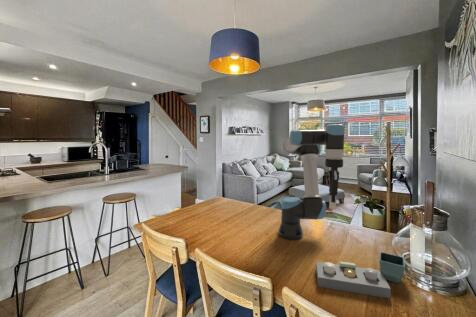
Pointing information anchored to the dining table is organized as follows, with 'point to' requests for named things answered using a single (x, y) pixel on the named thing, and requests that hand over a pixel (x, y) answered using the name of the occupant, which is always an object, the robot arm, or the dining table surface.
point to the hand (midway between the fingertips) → (332, 208)
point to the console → (352, 281)
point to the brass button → (349, 273)
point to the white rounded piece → (329, 268)
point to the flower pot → (392, 267)
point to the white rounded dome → (371, 274)
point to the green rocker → (347, 265)
